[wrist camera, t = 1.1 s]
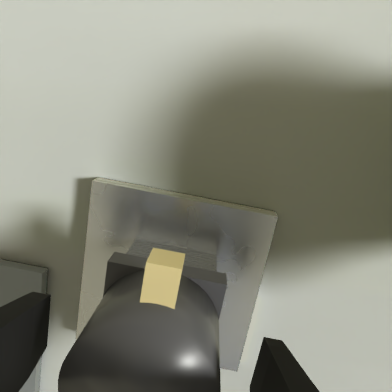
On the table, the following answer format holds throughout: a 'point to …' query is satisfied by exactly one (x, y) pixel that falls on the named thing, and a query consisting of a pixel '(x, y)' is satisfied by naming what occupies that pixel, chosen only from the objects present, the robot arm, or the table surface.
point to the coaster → (17, 287)
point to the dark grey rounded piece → (150, 329)
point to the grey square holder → (180, 247)
